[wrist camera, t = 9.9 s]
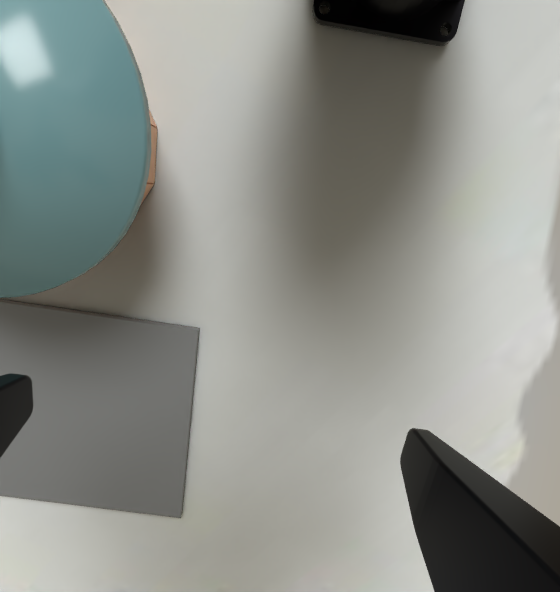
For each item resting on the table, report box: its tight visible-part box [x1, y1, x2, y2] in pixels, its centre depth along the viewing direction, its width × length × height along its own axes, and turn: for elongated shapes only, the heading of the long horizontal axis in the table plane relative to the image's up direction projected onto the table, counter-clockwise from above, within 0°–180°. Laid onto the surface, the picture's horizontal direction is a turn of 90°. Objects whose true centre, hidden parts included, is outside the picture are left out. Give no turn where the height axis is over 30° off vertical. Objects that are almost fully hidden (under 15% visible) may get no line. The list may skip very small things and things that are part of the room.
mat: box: [0, 299, 200, 518], centre depth 22 cm, size 16×14×1 cm
